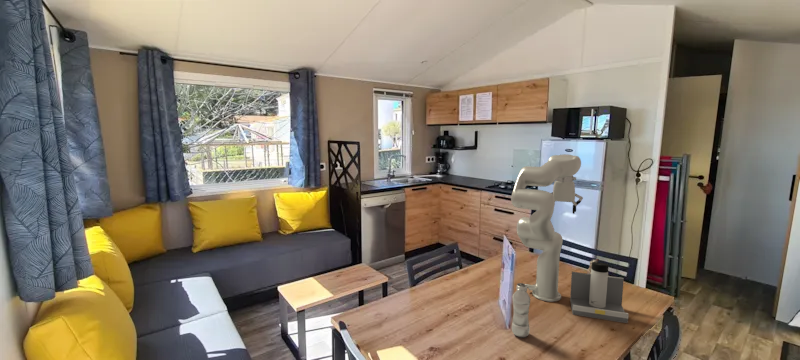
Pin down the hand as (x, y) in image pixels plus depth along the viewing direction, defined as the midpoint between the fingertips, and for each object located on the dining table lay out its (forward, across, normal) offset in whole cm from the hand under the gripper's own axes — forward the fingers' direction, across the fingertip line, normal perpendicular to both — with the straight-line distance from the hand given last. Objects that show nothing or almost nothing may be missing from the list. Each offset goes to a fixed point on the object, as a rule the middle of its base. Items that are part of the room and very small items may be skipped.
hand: (562, 212), depth 176 cm
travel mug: (+34, -14, +29) cm, 47 cm away
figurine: (+37, -16, -4) cm, 40 cm away
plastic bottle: (+36, +15, +60) cm, 71 cm away
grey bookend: (+36, -14, +29) cm, 48 cm away
